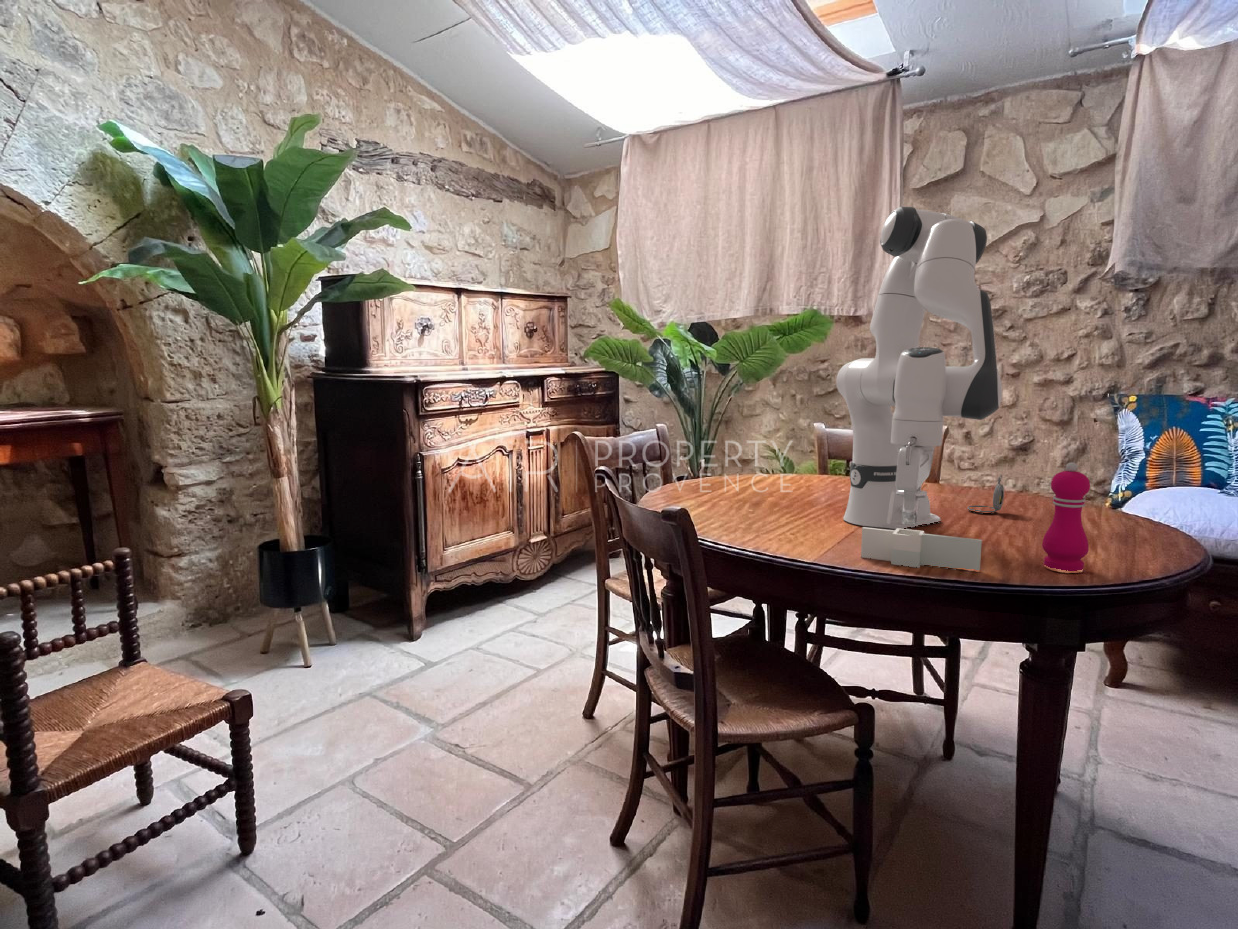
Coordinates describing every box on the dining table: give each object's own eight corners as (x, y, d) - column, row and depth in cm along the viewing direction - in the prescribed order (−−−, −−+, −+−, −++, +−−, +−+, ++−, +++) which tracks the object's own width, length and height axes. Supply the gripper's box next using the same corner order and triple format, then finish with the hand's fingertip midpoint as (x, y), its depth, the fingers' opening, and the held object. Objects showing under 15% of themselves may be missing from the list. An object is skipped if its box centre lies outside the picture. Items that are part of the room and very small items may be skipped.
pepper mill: (1031, 564, 132) (1039, 460, 129) (1067, 562, 133) (1076, 459, 130) (1058, 575, 125) (1067, 466, 122) (1096, 574, 126) (1106, 464, 123)
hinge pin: (910, 520, 136) (913, 488, 136) (930, 525, 131) (933, 492, 130) (887, 521, 135) (890, 488, 134) (907, 527, 130) (909, 493, 129)
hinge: (980, 568, 130) (982, 537, 129) (978, 575, 126) (980, 543, 125) (864, 553, 141) (865, 524, 140) (858, 560, 137) (859, 530, 136)
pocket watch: (963, 509, 180) (966, 470, 179) (998, 509, 179) (1000, 471, 178) (975, 516, 172) (977, 476, 171) (1011, 516, 171) (1014, 476, 170)
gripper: (928, 441, 120) (922, 519, 122) (940, 431, 138) (934, 500, 140) (889, 438, 123) (884, 515, 125) (906, 429, 141) (901, 497, 143)
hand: (911, 507), depth 133 cm, fingers closed on hinge pin, 3 cm apart
